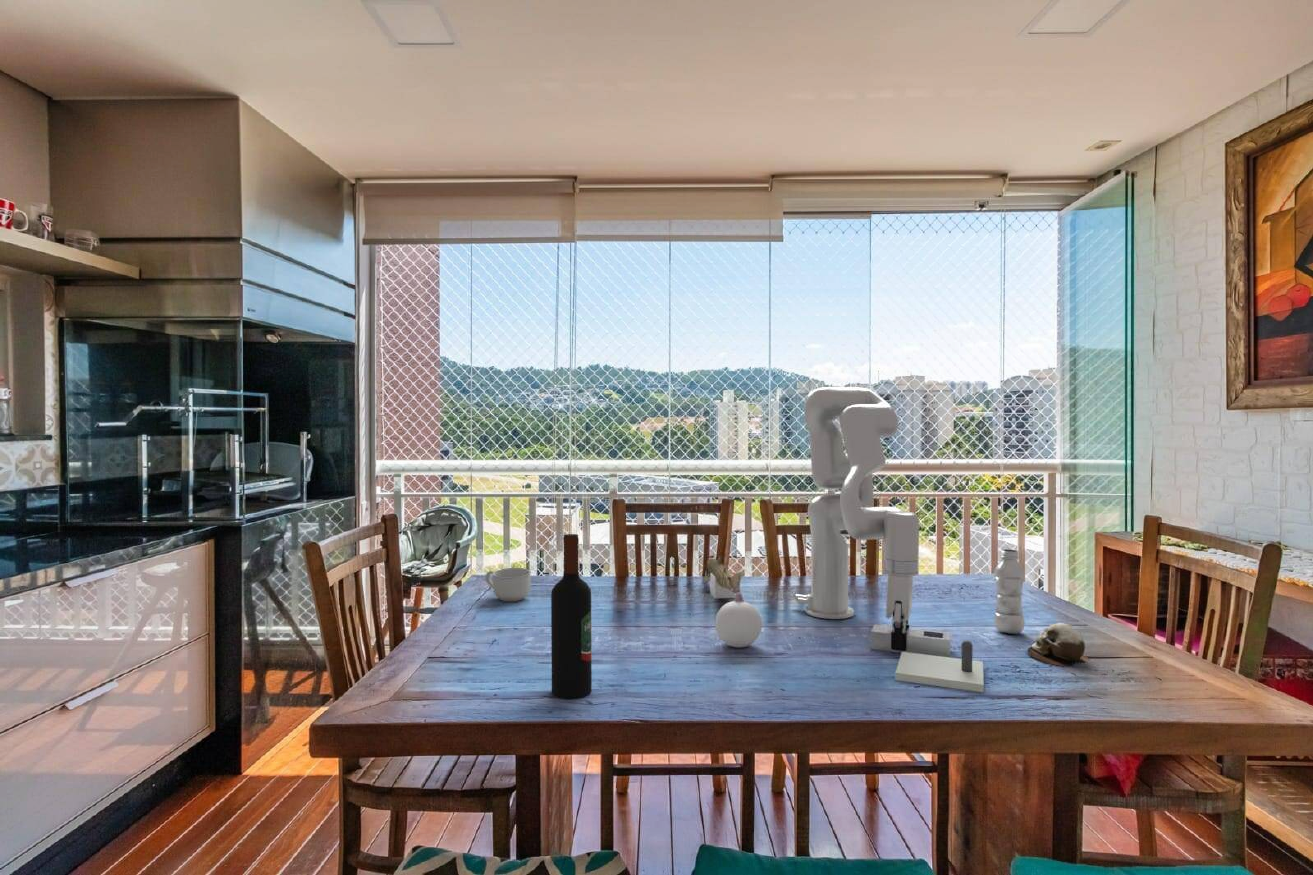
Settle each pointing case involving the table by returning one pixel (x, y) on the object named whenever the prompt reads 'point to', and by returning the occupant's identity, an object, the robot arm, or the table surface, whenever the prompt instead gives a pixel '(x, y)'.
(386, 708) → the table surface
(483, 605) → the table surface
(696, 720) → the table surface
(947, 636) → the link plate
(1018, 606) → the plastic bottle
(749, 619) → the ornament
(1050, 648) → the skull
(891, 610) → the robot arm
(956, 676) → the board
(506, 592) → the teacup
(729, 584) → the wood carving
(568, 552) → the wine bottle
